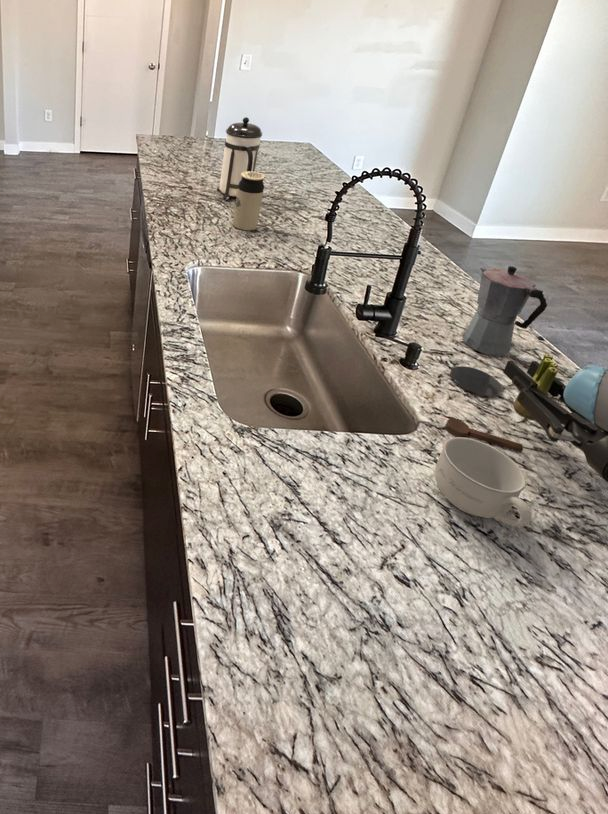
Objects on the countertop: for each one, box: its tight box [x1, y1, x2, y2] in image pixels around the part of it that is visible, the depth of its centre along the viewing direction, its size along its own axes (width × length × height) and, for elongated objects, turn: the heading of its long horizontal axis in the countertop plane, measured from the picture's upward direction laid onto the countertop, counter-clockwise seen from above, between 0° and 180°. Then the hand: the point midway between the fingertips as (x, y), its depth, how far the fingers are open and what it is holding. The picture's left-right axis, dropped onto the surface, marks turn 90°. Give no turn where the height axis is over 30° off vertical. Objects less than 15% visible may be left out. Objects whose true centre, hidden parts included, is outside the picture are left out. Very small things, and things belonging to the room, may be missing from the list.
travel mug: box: [232, 171, 266, 231], centre depth 175 cm, size 8×8×18 cm
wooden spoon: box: [444, 418, 524, 454], centre depth 97 cm, size 12×4×1 cm, turn 63°
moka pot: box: [462, 265, 548, 357], centre depth 118 cm, size 10×15×20 cm, turn 18°
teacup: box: [434, 436, 533, 528], centre depth 82 cm, size 14×11×8 cm
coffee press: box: [216, 116, 263, 201], centre depth 198 cm, size 17×16×30 cm
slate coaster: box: [449, 365, 503, 399], centre depth 111 cm, size 9×9×1 cm
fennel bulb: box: [512, 353, 559, 421], centre depth 96 cm, size 6×5×12 cm
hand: (519, 366), depth 100 cm, fingers closed on fennel bulb, 4 cm apart
